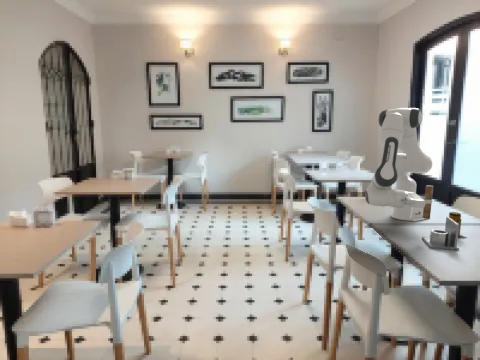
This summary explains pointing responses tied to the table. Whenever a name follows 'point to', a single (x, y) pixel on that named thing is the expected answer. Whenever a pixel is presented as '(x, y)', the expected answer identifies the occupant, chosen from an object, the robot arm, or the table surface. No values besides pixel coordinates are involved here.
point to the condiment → (457, 219)
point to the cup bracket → (444, 236)
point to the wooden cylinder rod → (428, 206)
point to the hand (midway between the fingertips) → (430, 200)
